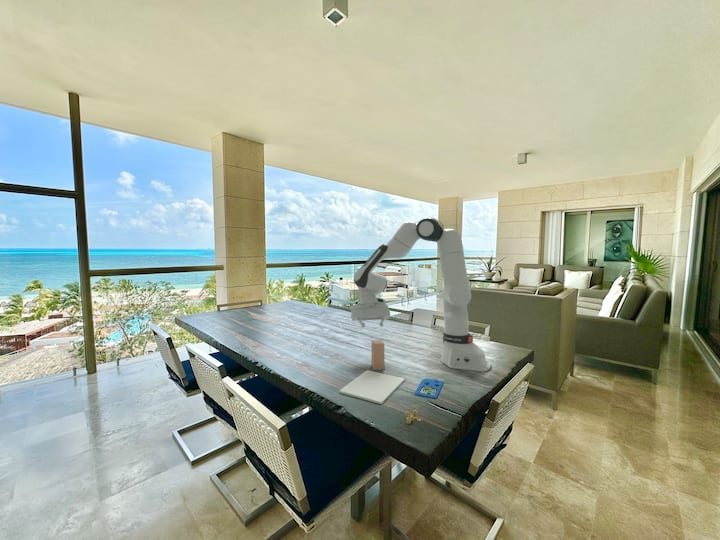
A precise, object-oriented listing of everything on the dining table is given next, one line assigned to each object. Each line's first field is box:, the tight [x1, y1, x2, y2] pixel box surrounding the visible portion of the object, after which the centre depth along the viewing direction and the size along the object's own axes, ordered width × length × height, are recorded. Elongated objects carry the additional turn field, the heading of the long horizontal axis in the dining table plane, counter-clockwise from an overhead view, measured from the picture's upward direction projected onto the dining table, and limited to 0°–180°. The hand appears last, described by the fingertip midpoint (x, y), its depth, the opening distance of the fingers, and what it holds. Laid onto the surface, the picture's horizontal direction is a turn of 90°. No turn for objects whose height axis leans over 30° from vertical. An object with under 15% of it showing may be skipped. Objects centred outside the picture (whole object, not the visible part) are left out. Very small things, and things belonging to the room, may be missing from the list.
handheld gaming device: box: [413, 378, 444, 400], centre depth 115 cm, size 8×1×15 cm
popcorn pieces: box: [405, 409, 422, 425], centre depth 94 cm, size 5×5×2 cm
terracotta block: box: [371, 339, 386, 371], centre depth 136 cm, size 5×5×12 cm
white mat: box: [338, 370, 406, 405], centre depth 117 cm, size 18×22×1 cm
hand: (372, 326), depth 147 cm, fingers open, 8 cm apart
